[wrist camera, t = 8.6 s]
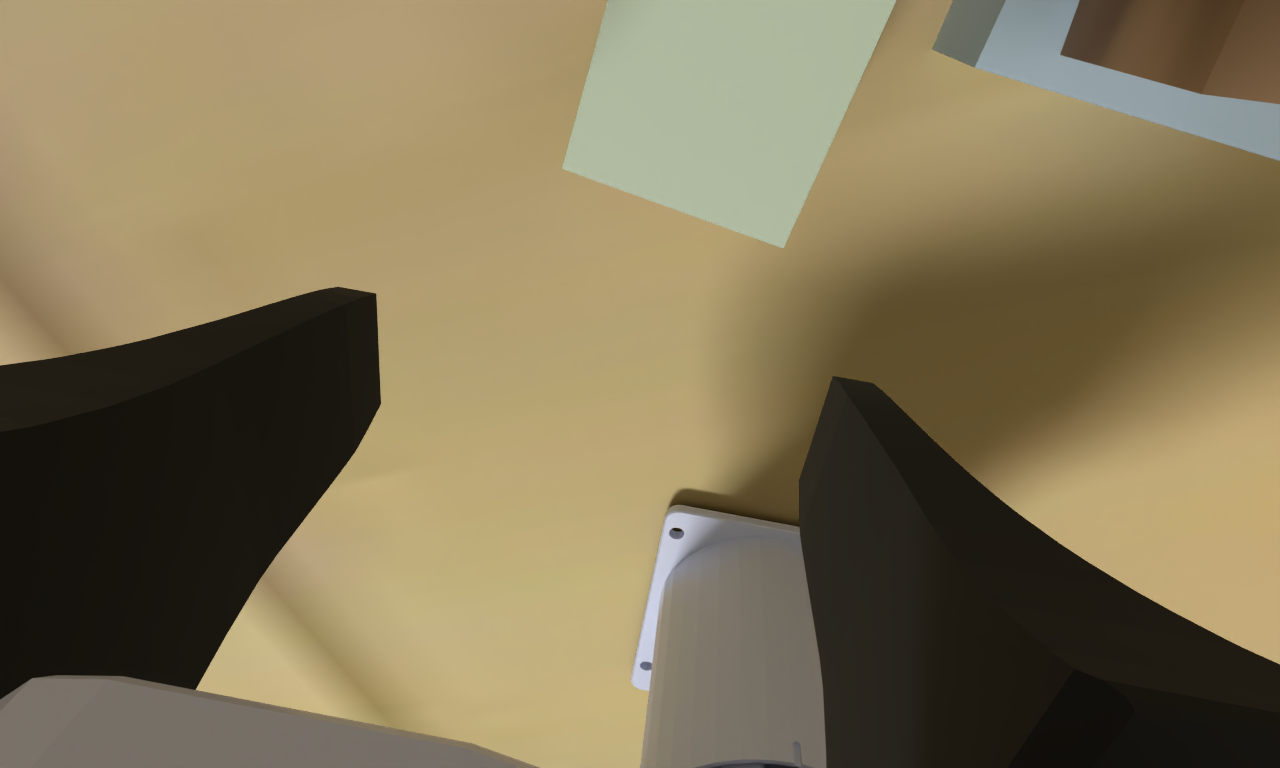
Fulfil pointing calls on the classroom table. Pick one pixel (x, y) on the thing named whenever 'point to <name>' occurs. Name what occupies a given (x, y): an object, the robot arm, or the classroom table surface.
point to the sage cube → (722, 103)
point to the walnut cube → (1184, 43)
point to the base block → (1094, 72)
